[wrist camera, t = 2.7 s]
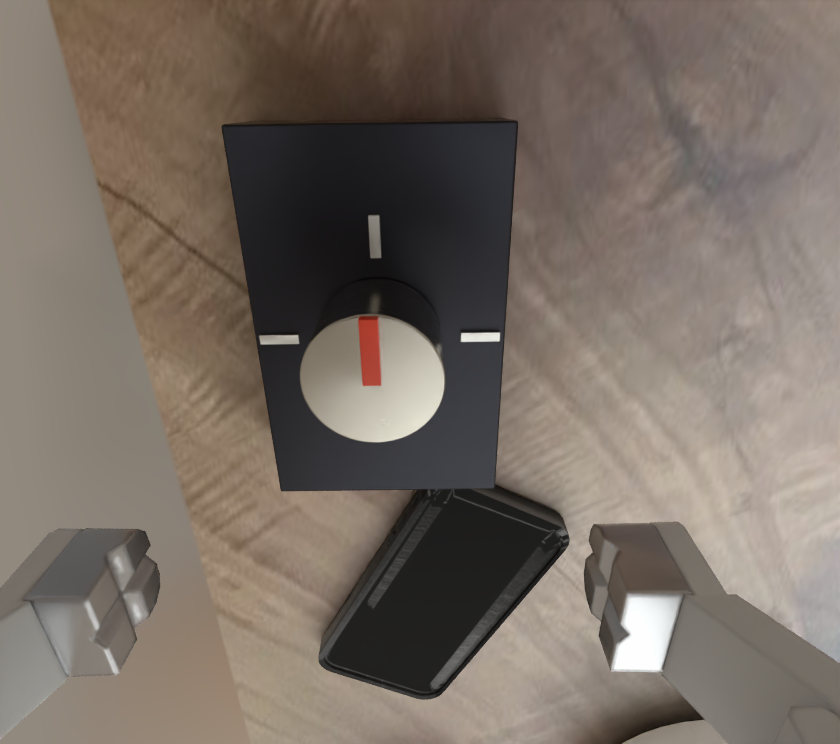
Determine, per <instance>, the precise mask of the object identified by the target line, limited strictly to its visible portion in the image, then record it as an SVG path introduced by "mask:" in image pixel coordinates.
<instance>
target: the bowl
mask: <svg viewBox="0 0 840 744" xmlns="http://www.w3.org/2000/svg"><path fill="white" fill-rule="evenodd" d="M622 744H728V743H727V742H726V741H725V740H724V739H723V738H722V737H721V736H720V735H719V734H718V733H717V732H716V731H715V730H714V728H713V727H712V726H711V725H710V724H709V723H708V722H707V721H706V720H698V721H688V722H681V723H677V724H672V725H667V726H663V727H660V728H657V729H654V730H651V731H648V732H645V733H642V734H640V735H638V736H636V737H634V738H632V739H630V740H627V741H625V742H624V743H622Z"/></svg>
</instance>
